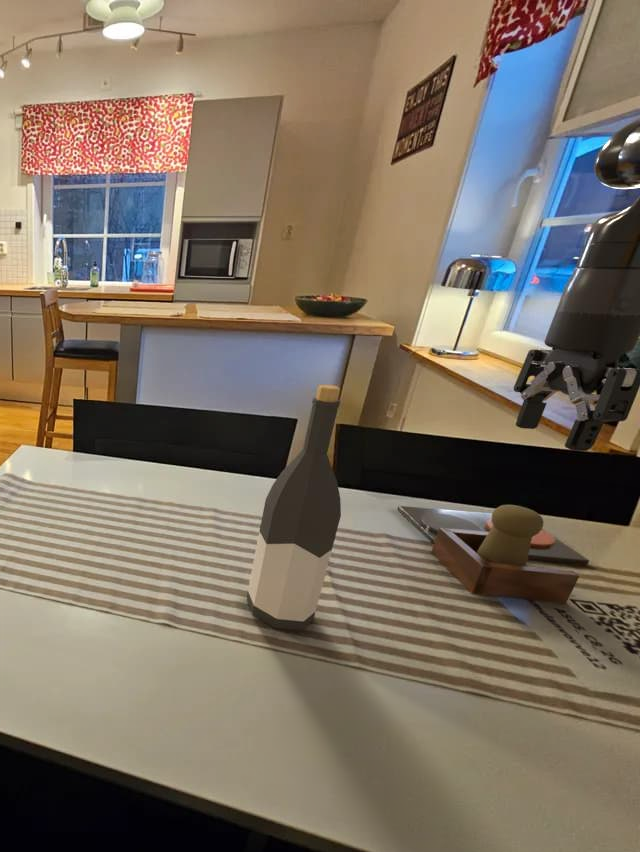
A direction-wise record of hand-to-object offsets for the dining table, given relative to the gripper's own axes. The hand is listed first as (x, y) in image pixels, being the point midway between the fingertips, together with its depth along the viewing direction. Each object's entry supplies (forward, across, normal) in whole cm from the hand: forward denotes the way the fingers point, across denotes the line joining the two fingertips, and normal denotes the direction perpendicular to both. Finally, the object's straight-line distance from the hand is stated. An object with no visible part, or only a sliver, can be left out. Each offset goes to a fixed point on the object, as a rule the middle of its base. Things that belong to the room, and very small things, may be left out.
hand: (549, 437), depth 64 cm
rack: (+21, 0, 0) cm, 21 cm away
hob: (+22, +13, -6) cm, 26 cm away
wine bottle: (+22, -14, +33) cm, 42 cm away
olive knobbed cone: (+22, 0, 0) cm, 22 cm away
